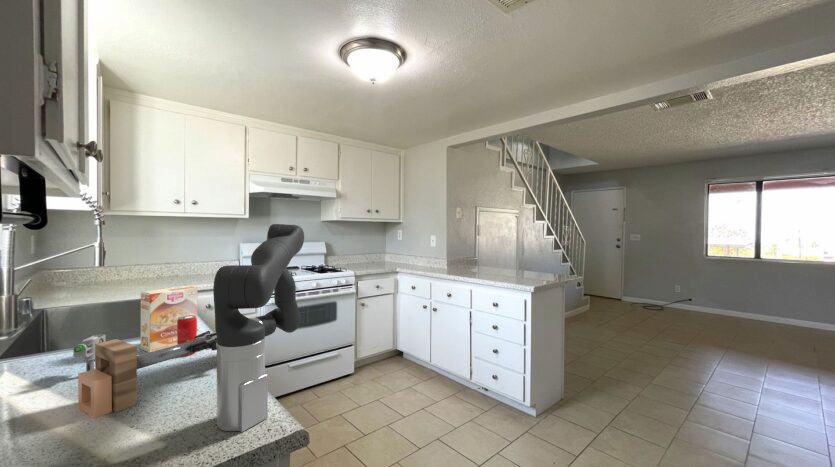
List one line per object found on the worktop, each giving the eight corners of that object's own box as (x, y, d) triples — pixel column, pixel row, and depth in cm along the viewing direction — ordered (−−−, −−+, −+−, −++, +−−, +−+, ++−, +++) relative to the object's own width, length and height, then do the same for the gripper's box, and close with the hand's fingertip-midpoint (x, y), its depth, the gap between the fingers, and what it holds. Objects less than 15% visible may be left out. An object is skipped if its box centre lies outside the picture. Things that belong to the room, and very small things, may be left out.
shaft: (206, 346, 101) (206, 334, 101) (213, 348, 99) (213, 336, 99) (116, 373, 82) (116, 358, 82) (123, 376, 81) (123, 361, 81)
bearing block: (136, 403, 80) (136, 345, 80) (115, 411, 77) (115, 351, 76) (116, 393, 85) (116, 339, 85) (95, 401, 81) (95, 343, 81)
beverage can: (173, 355, 111) (173, 317, 110) (190, 349, 115) (190, 314, 115) (183, 358, 108) (183, 320, 108) (200, 352, 113) (199, 316, 113)
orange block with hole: (111, 411, 77) (111, 376, 77) (94, 418, 74) (94, 381, 74) (95, 402, 81) (95, 369, 81) (78, 408, 78) (78, 373, 78)
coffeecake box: (149, 353, 112) (149, 293, 111) (139, 349, 115) (139, 291, 115) (198, 340, 125) (198, 286, 124) (187, 337, 128) (187, 285, 128)
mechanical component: (70, 384, 90) (70, 346, 90) (95, 368, 100) (95, 334, 100) (84, 382, 91) (84, 345, 90) (107, 367, 100) (107, 333, 100)
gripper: (229, 317, 113) (172, 330, 98) (258, 323, 106) (201, 338, 91) (229, 339, 113) (172, 357, 98) (258, 347, 107) (201, 366, 91)
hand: (186, 348), depth 95 cm, fingers closed on shaft, 3 cm apart
